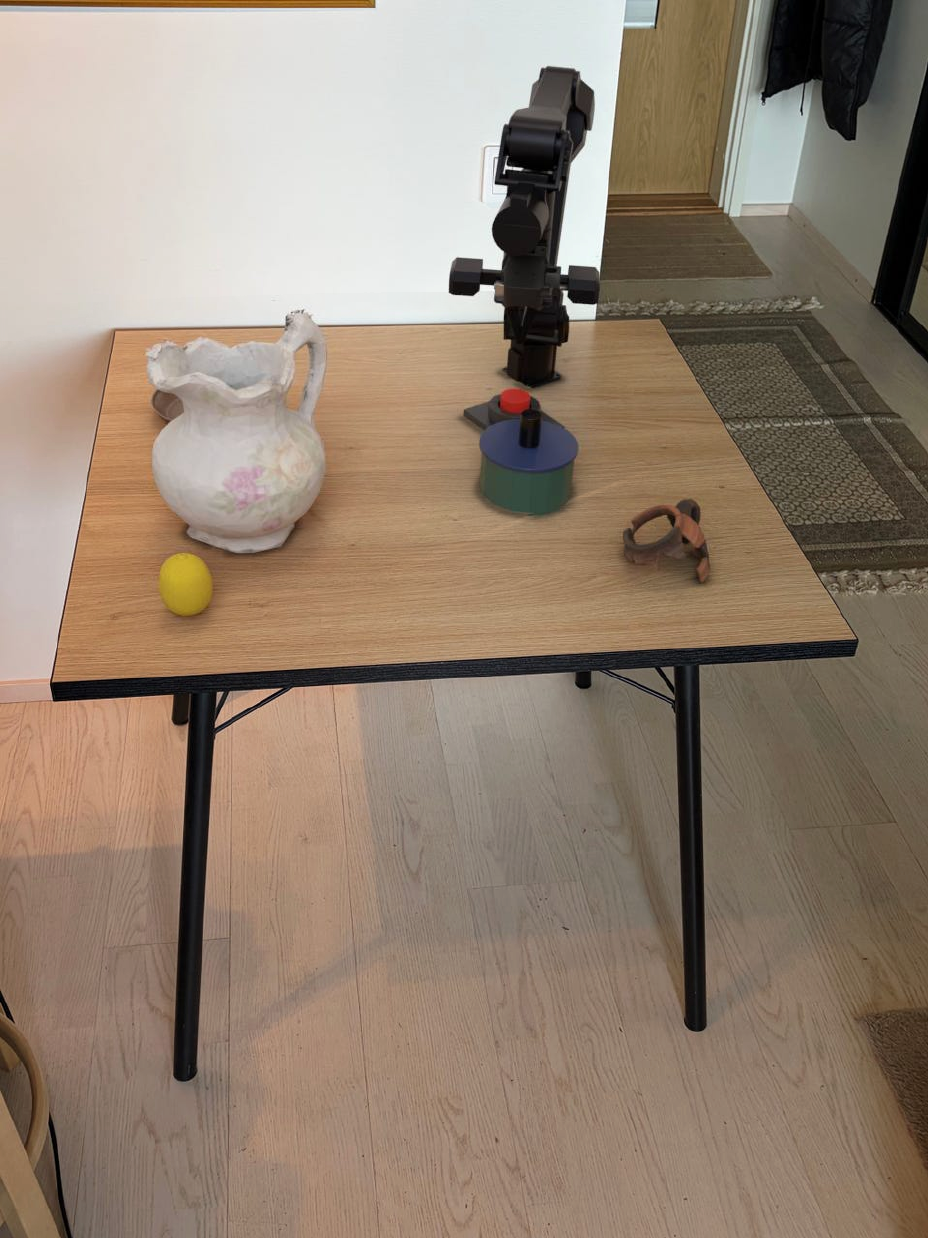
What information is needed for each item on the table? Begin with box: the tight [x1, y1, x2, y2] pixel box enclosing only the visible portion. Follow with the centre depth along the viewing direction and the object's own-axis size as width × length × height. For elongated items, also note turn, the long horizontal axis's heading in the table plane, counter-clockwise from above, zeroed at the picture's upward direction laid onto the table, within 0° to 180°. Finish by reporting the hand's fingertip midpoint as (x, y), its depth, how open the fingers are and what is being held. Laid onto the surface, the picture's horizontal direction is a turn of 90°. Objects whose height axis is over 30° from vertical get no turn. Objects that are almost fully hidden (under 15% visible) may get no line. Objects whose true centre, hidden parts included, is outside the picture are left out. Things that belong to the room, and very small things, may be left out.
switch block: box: [462, 393, 566, 431], centre depth 159 cm, size 9×11×4 cm
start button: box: [500, 388, 531, 413], centre depth 157 cm, size 4×4×2 cm
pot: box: [479, 453, 576, 517], centre depth 145 cm, size 11×11×6 cm
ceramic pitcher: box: [143, 309, 328, 554], centre depth 132 cm, size 22×20×25 cm
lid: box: [478, 409, 579, 473], centre depth 142 cm, size 12×12×5 cm
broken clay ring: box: [622, 498, 711, 583], centre depth 136 cm, size 12×10×8 cm
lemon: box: [158, 552, 214, 617], centre depth 123 cm, size 6×6×8 cm
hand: (519, 343), depth 152 cm, fingers closed
